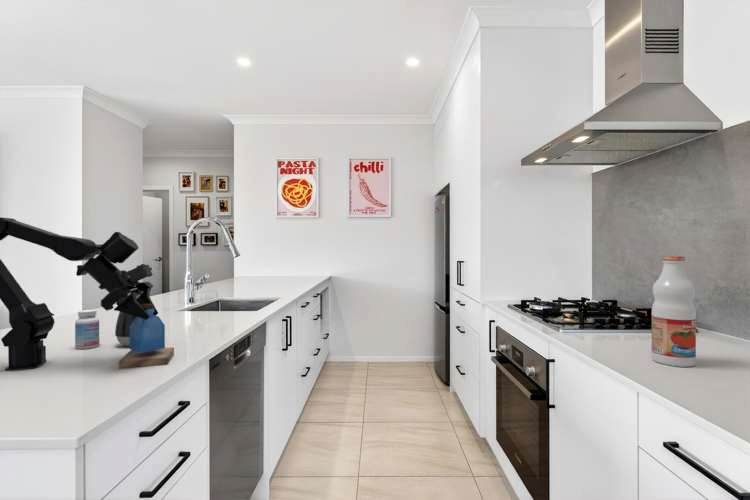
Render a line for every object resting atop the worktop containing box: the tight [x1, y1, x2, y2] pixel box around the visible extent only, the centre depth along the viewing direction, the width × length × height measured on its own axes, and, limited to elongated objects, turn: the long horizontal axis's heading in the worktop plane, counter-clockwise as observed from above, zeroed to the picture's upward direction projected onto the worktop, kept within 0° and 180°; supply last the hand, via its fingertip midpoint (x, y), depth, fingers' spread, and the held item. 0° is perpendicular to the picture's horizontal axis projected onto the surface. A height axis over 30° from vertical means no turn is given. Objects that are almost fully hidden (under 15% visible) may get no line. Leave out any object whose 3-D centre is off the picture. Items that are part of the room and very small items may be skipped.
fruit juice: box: [650, 255, 697, 368], centre depth 106 cm, size 9×9×28 cm
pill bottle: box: [74, 309, 100, 350], centre depth 124 cm, size 6×6×11 cm
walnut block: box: [118, 346, 175, 370], centre depth 109 cm, size 11×11×2 cm
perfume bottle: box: [129, 303, 166, 353], centre depth 109 cm, size 6×6×12 cm
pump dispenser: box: [114, 311, 136, 347], centre depth 127 cm, size 10×10×15 cm
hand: (152, 316), depth 109 cm, fingers closed on perfume bottle, 6 cm apart
